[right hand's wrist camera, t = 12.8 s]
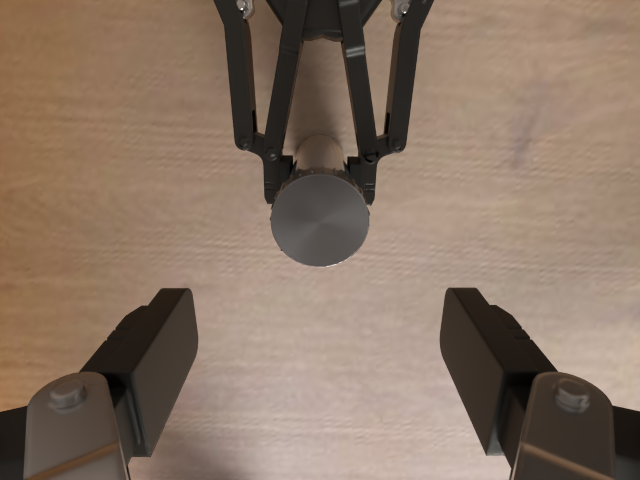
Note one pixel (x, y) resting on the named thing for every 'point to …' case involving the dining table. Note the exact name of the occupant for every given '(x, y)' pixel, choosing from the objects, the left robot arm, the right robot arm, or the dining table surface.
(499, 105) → the dining table surface
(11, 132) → the dining table surface
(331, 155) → the grey cylinder
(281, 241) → the lid
